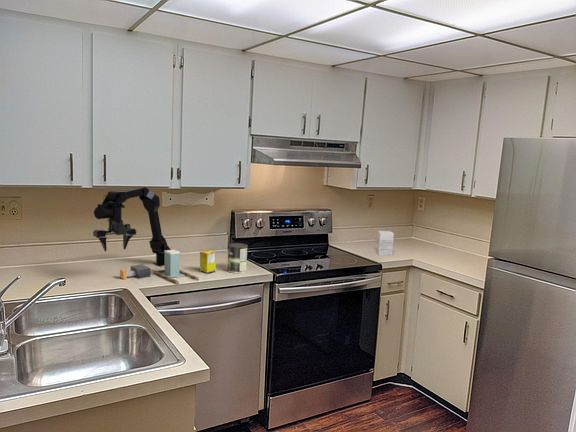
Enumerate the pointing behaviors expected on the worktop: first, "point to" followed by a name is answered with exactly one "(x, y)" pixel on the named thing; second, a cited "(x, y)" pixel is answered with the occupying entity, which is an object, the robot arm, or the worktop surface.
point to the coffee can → (237, 257)
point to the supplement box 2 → (385, 243)
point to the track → (170, 278)
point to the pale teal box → (172, 262)
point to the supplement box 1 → (207, 261)
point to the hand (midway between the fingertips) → (115, 250)
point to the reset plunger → (126, 273)
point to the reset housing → (141, 271)
